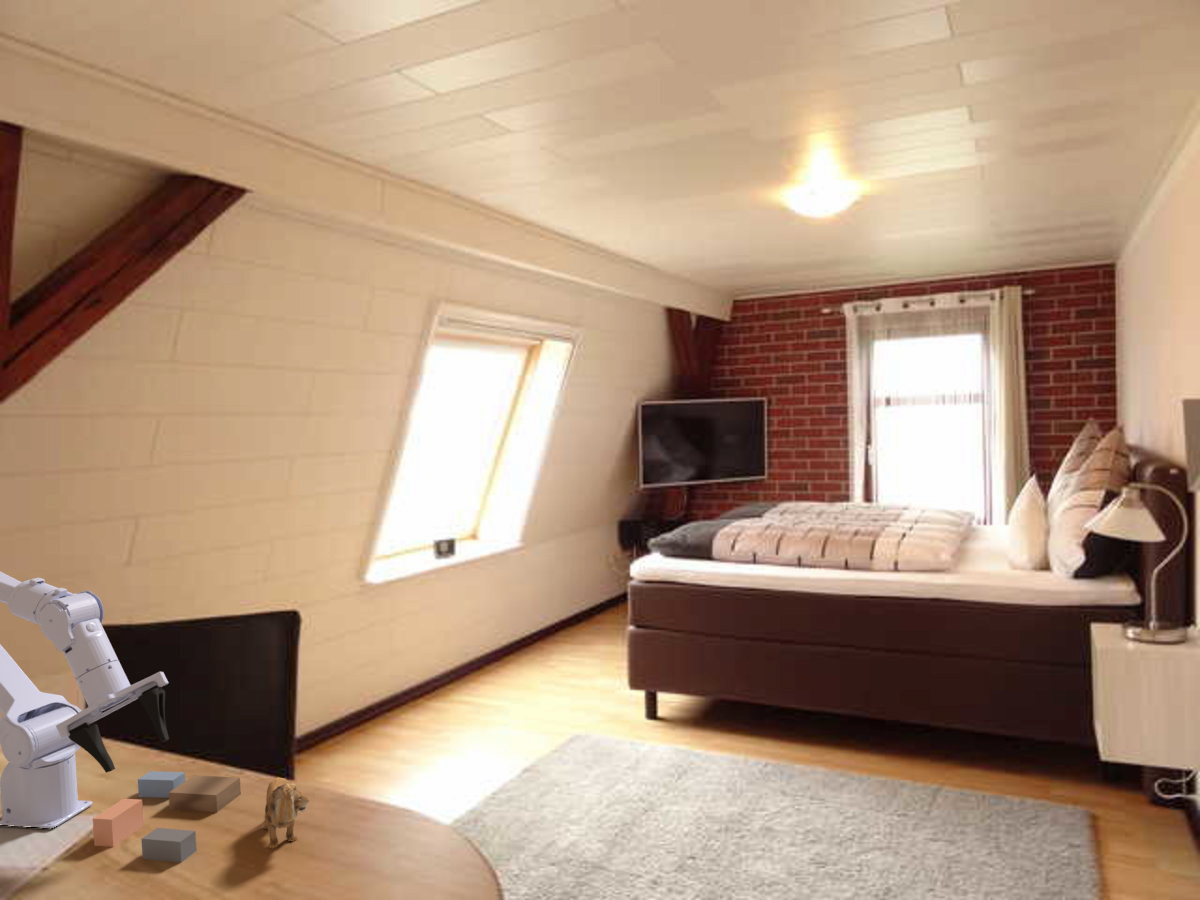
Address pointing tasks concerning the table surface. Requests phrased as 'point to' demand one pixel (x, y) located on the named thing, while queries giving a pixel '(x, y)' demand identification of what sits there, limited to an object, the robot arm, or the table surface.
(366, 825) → the table surface
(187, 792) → the walnut block
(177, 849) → the gray brick
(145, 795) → the slate-blue brick
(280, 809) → the lion figurine
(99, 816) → the terracotta brick
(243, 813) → the table surface
